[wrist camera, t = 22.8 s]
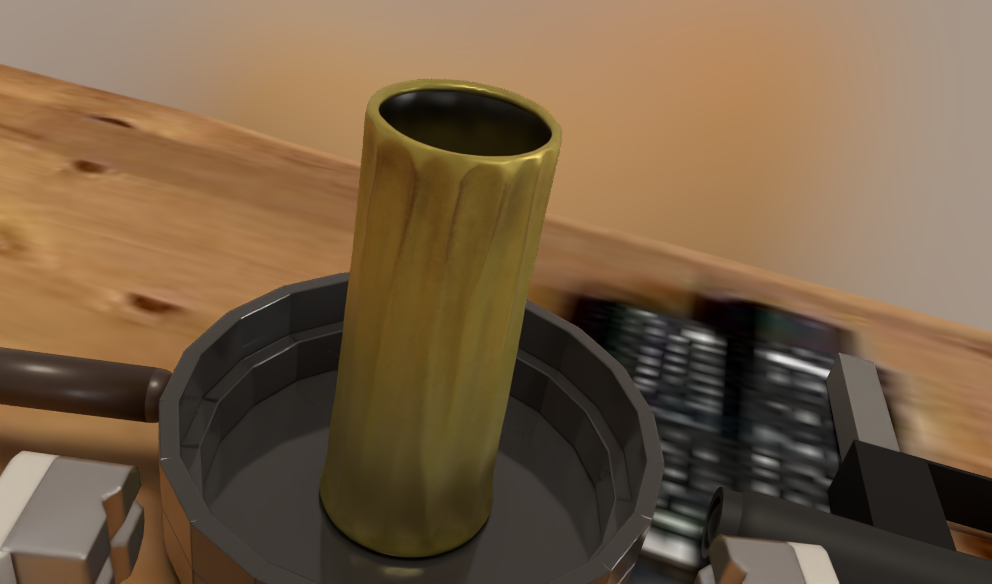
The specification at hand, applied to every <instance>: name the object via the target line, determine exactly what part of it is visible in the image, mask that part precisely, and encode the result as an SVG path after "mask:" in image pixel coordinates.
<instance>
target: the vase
mask: <svg viewBox="0 0 992 584" xmlns="http://www.w3.org/2000/svg"><path fill="white" fill-rule="evenodd" d="M561 140H562V129H561V126H560V124H559V123H558V122H557V121H556V119H555V118H554V117H553V116H552V115H551V114H550V113H549V112H548V111H547V110H546V109H545V108H544V107H542V106H541V105H539V104H537V103H536V102H534V101H532V100H530V99H527V98H525V97H523V96H520V95H519V94H516V93H513V92H511V91H508V90H504V89H501V88H498V87H493V86H489V85H485V84H481V83H476V82H469V81H460V80H445V79H418V80H411V81H406V82H400V83H396V84H392V85H389V86H387V87H384V88H382V89H380V90H379V91H377V92H376V93H375V94H374V95H373V96H372V97H371V99H370V100H369V103H368V105H367V109H366V113H365V122H364V136H363V149H362V159H361V170H360V181H359V192H358V201H357V211H356V220H355V230H354V240H353V251H352V260H351V267H350V275H349V283H348V291H347V298H346V306H345V315H344V325H343V335H342V343H341V351H340V358H339V367H338V376H337V384H336V392H335V398H334V404H333V410H332V416H331V423H330V430H329V439H328V449H327V456H326V461H325V465H324V468H323V470H322V473H321V476H320V482H319V486H320V495H321V499H322V502H323V505H324V507H325V510H326V512H327V514H328V515H329V517H330V519H331V520H332V522H333V523H334V524H335V525H336V526H337V528H338V529H339V530H341V531H342V532H343V533H344V534H345V535H346V536H348V537H349V538H350V539H352V540H353V541H355V542H356V543H358V544H360V545H362V546H364V547H366V548H369V549H371V550H374V551H376V552H379V553H383V554H387V555H392V556H400V557H426V556H433V555H436V554H440V553H443V552H446V551H449V550H452V549H454V548H456V547H459V546H460V545H462V544H464V543H466V542H467V541H468V540H470V539H471V538H472V537H473V536H474V535H475V534H476V533H477V532H478V531H479V530H480V528H481V527H482V526H483V524H484V523H485V521H486V520H487V518H488V517H489V515H490V512H491V509H492V506H493V500H494V487H493V474H494V468H495V463H496V457H497V452H498V446H499V440H500V435H501V430H502V425H503V420H504V416H505V411H506V407H507V402H508V397H509V392H510V387H511V382H512V376H513V371H514V366H515V361H516V355H517V350H518V344H519V339H520V334H521V328H522V323H523V317H524V311H525V305H526V299H527V293H528V287H529V283H530V280H531V276H532V272H533V268H534V263H535V259H536V255H537V250H538V245H539V241H540V236H541V231H542V227H543V222H544V217H545V213H546V208H547V205H548V201H549V196H550V192H551V188H552V183H553V178H554V173H555V169H556V165H557V161H558V157H559V151H560V147H561Z"/></svg>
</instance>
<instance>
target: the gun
mask: <svg viewBox="0 0 992 584" xmlns="http://www.w3.org/2000/svg"><path fill="white" fill-rule="evenodd" d="M826 383H827V388H828V393H829V398H830V403H831V408H832V413H833V418H834V423H835V428H836V434H837V439H838V444H839V449H840V454H841V459H842V464H841V466H840V468H839V470H838V472H837V474H836V476H835V478H834V480H833V481H832V483H831V485H830V487H829V489H828V497H829V503H830V509H831V514H830V513H827V512H823V511H820V510H817V509H813V508H810V507H806V506H803V505H800V504H796V503H793V502H790V501H786V500H783V499H779V498H776V497H773V496H769V495H766V494H762V493H758V492H740V493H739V492H736V491H732V490H729V489H726V488H722V487H719V488H718V489H717V491H716V492H715V494H714V496H713V498H712V501H711V503H710V506H709V509H708V513H707V516H706V520H705V525H704V530H703V536H702V545H701V552H702V557H703V558H705V559H708V560H710V558H709V553H708V550H709V548H710V546H711V543H712V541H713V539H714V538H716V537H717V536H718V535H719V534H722V535H732V536H741V537H751V538H760V539H770V540H779V541H784V542H794V543H803V544H811V545H820V546H822V547H823V548H824V549H825V551H826V552H827V554H828V556H829V559H830V561H831V564H832V566H833V569H834V571H835V574H836V576H837V579H838V581H839V584H992V561H990V560H986V559H983V558H979V557H976V556H973V555H969V554H966V553H962V552H959V551H956V548H955V545H954V542H953V539H952V536H951V533H950V530H949V527H948V524H947V521H946V520H948V521H951V522H954V523H958V524H961V525H965V526H968V527H972V528H975V529H978V530H982V531H985V532H989V533H992V478H988V477H985V476H981V475H978V474H974V473H971V472H967V471H964V470H960V469H957V468H953V467H950V466H946V465H943V464H939V463H936V462H932V461H929V460H926V459H923V458H919V457H916V456H912V455H909V454H905V453H902V452H900V450H899V447H898V443H897V440H896V437H895V433H894V430H893V426H892V423H891V420H890V416H889V413H888V409H887V406H886V403H885V399H884V396H883V392H882V389H881V386H880V382H879V379H878V375H877V372H876V369H875V365H874V362H871V361H867V360H864V359H860V358H856V357H853V356H849V355H845V354H842V353H839V354H838V356H837V358H836V360H835V362H834V364H833V366H832V369H831V371H830V373H829V375H828V377H827V379H826Z"/></svg>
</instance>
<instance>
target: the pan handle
mask: <svg viewBox="0 0 992 584" xmlns="http://www.w3.org/2000/svg"><path fill="white" fill-rule="evenodd" d="M172 374H173V373H171V372H170V371H168V370H166V369H162V368H156V367H148V366H140V365H132V364H125V363H117V362H109V361H102V360H94V359H86V358H79V357H71V356H63V355H56V354H48V353H40V352H33V351H25V350H17V349H10V348H2V347H0V404H2V405H10V406H19V407H27V408H35V409H43V410H51V411H59V412H67V413H75V414H83V415H91V416H99V417H107V418H115V419H123V420H131V421H139V422H147V423H157V422H159V400H160V398H161V396H162V394H163V392H164V390H165V388H166V386H167V384H168V382H169V380H170V378H171V376H172Z"/></svg>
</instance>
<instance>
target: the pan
mask: <svg viewBox="0 0 992 584" xmlns="http://www.w3.org/2000/svg"><path fill="white" fill-rule="evenodd" d="M349 275H350V273H339V274H335V275H330V276H326V277H321V278H317V279H312V280H308V281H303V282H299V283H294V284H290V285H285V286H283V287H280V288H278V289H275V290H273V291H271V292H269V293H267V294H265V295H263V296H261V297H258V298H256V299H254V300H252V301H250V302H248V303H246V304H244V305H242V306H239V307H237V308H235V309H233V310H231V311H229V312H228V313H226V314H225V315H224V316H223V317H221V318H220V319H219V320H218V321H217V322H216V323H215V324H214V325H212V326H211V327H210V328H209V329H208V330H207V331H206V332H205V333H203V334H202V335H201V336H200V337H199V338H198V339H197V340H196V341H195V342H193V343H192V344H191V345H190V346H189V347H188V348H187V349H186V350H185V351H184V352H183V354H182V356H181V358H180V360H179V362H178V364H177V366H176V368H175V370H174V372H173V374H172V376H171V378H170V380H169V382H168V384H167V386H166V388H165V390H164V392H163V394H162V396H161V398H160V400H159V473H160V488H161V502H162V518H163V532H164V547H165V550H166V552H167V555H168V557H169V559H170V561H171V563H172V565H173V567H174V569H175V572H176V574H177V576H178V578H179V580H180V582H181V584H627V583H628V581H629V578H630V576H631V573H632V570H633V568H634V565H635V563H636V560H637V558H638V555H639V553H640V550H641V548H642V545H643V543H644V540H645V538H646V535H647V533H648V530H649V527H650V525H651V522H652V520H653V515H654V511H655V507H656V502H657V498H658V493H659V489H660V485H661V480H662V476H663V472H664V460H663V455H662V451H661V446H660V442H659V437H658V432H657V428H656V423H655V419H654V414H653V412H652V410H651V409H650V407H649V405H648V404H647V402H646V401H645V399H644V398H643V396H642V395H641V393H640V392H639V390H638V388H637V387H636V385H635V384H634V382H633V381H632V379H631V378H630V376H629V375H628V373H627V371H626V370H625V368H624V367H623V366H622V365H621V364H620V363H619V362H618V361H617V360H615V359H614V358H613V357H612V356H611V355H610V354H609V353H607V352H606V351H605V350H604V349H603V348H602V347H601V346H599V345H598V344H597V343H596V342H595V341H594V340H593V339H591V338H590V337H589V336H588V335H587V334H586V333H585V332H584V331H582V330H581V329H580V328H578V327H577V326H575V325H573V324H571V323H569V322H568V321H566V320H564V319H562V318H560V317H558V316H557V315H555V314H553V313H551V312H549V311H547V310H546V309H544V308H542V307H540V306H538V305H536V304H535V303H533V302H531V301H529V300H526V305H525V311H524V317H523V323H522V328H521V334H520V339H519V344H518V350H517V355H516V361H515V366H514V371H513V376H512V382H511V387H510V392H509V397H508V402H507V407H506V411H505V416H504V420H503V425H502V430H501V435H500V440H499V446H498V452H497V457H496V463H495V468H494V474H493V487H494V500H493V506H492V509H491V512H490V515H489V517H488V518H487V520H486V521H485V523H484V524H483V526H482V527H481V528H480V530H479V531H478V532H477V533H476V534H475V535H474V536H473V537H472V538H471V539H470V540H468V541H467V542H466V543H464V544H462V545H460V546H459V547H456V548H454V549H452V550H449V551H446V552H443V553H440V554H436V555H433V556H426V557H400V556H392V555H387V554H383V553H379V552H376V551H374V550H371V549H369V548H366V547H364V546H362V545H360V544H358V543H356V542H355V541H353V540H352V539H350V538H349V537H348V536H346V535H345V534H344V533H343V532H342V531H341V530H339V529H338V528H337V526H336V525H335V524H334V523H333V522H332V520H331V519H330V517H329V515H328V514H327V512H326V510H325V507H324V505H323V502H322V499H321V495H320V486H319V482H320V476H321V473H322V470H323V468H324V465H325V461H326V456H327V449H328V439H329V430H330V423H331V416H332V410H333V404H334V398H335V392H336V384H337V376H338V367H339V358H340V351H341V343H342V335H343V325H344V315H345V306H346V298H347V291H348V283H349Z"/></svg>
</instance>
